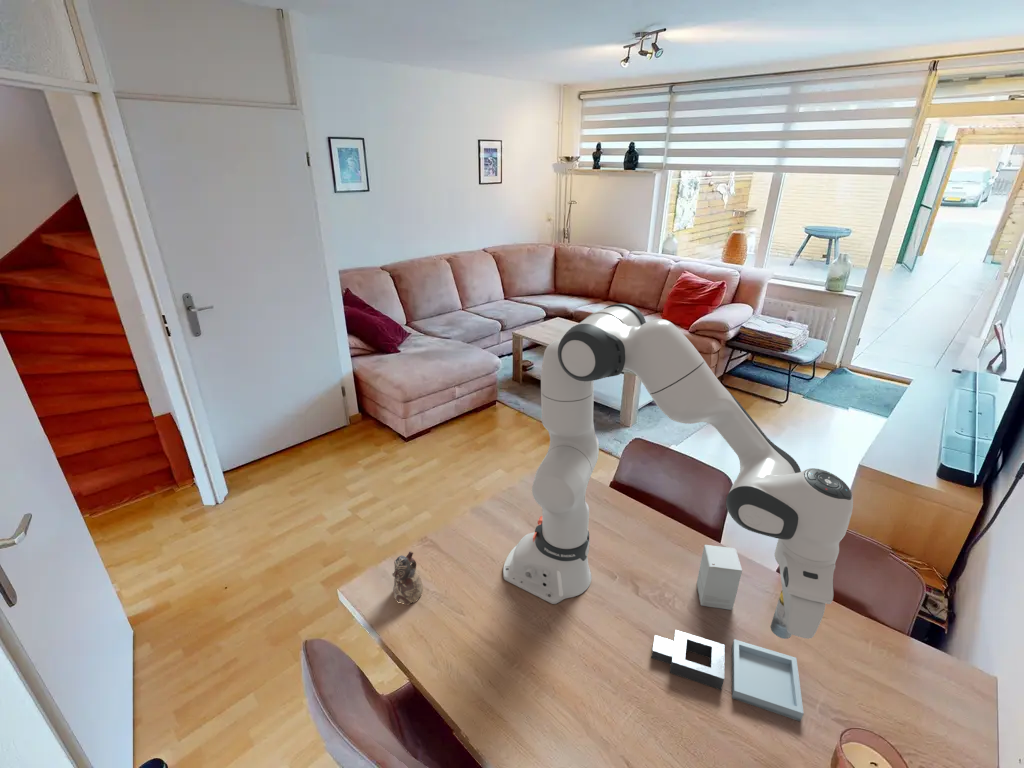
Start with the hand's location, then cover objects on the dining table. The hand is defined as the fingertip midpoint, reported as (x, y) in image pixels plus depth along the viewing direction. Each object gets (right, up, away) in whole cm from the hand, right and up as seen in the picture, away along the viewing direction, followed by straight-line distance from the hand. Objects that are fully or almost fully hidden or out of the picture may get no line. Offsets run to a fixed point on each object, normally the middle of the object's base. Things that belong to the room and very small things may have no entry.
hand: (786, 611), depth 92 cm
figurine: (-77, -10, +30) cm, 83 cm away
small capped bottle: (0, -5, +2) cm, 5 cm away
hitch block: (-14, -17, +13) cm, 25 cm away
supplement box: (-2, -9, +28) cm, 30 cm away
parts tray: (0, -18, +9) cm, 20 cm away
